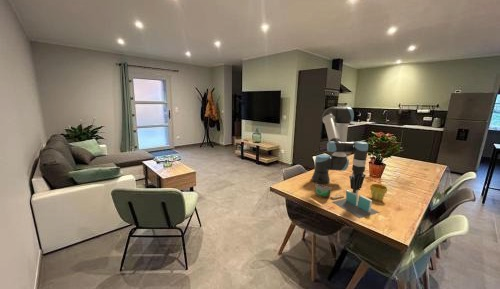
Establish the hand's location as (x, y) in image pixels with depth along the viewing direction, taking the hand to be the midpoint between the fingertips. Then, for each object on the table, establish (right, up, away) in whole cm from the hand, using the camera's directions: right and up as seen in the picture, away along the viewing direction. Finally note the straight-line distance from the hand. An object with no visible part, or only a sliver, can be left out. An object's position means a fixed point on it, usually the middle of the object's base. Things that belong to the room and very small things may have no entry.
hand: (354, 198), depth 142 cm
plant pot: (+21, -3, +10) cm, 24 cm away
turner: (-5, -3, +10) cm, 11 cm away
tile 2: (+2, -5, -8) cm, 10 cm away
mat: (-3, -6, -5) cm, 8 cm away
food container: (-20, -3, +9) cm, 22 cm away
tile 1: (-2, -3, 0) cm, 4 cm away
